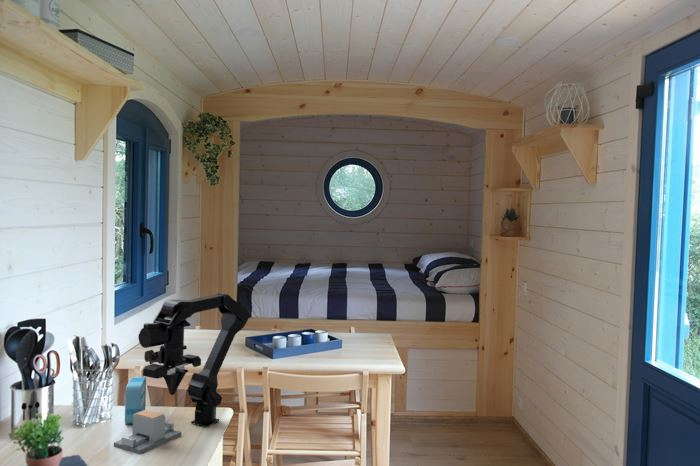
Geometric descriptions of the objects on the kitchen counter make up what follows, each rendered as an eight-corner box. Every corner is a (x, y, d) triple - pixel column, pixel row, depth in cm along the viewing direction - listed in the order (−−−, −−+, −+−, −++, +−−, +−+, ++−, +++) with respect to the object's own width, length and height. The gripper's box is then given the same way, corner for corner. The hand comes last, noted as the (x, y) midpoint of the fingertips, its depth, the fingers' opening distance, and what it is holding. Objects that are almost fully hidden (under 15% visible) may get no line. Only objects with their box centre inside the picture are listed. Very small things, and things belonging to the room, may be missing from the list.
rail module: (144, 431, 172) (145, 409, 172) (164, 437, 168) (165, 414, 168) (132, 436, 168) (133, 413, 168) (153, 442, 164) (153, 418, 164)
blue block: (139, 424, 180) (140, 386, 180) (124, 425, 179) (125, 386, 179) (145, 411, 192) (146, 375, 191) (130, 412, 191) (132, 376, 190)
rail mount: (156, 428, 177) (156, 418, 177) (181, 435, 173) (181, 425, 173) (113, 446, 163) (114, 435, 163) (139, 453, 159) (140, 442, 158)
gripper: (175, 334, 185) (174, 382, 185) (129, 344, 168) (128, 397, 168) (203, 338, 180) (201, 388, 180) (158, 349, 163) (156, 404, 163)
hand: (172, 394), depth 173 cm, fingers closed
